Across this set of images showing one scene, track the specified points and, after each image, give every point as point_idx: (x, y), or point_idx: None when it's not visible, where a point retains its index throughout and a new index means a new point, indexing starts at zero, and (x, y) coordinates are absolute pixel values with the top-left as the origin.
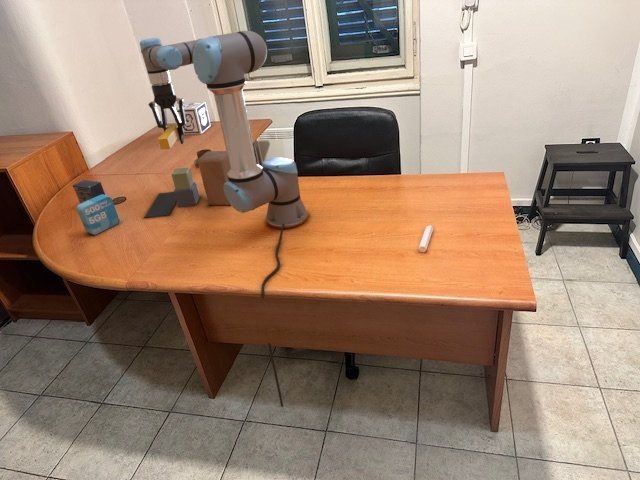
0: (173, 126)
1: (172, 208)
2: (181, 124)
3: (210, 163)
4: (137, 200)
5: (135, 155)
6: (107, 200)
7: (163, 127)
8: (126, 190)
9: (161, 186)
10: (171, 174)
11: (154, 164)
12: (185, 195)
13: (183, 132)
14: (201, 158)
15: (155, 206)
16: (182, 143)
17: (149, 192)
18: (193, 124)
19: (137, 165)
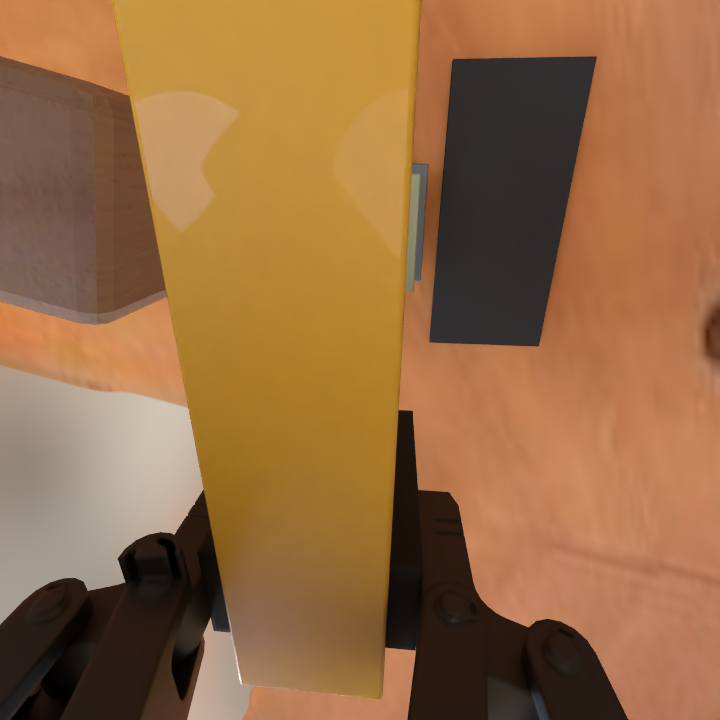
0: (286, 610)
1: (446, 142)
2: (117, 612)
3: None
4: (645, 304)
5: (667, 715)
6: None
7: (472, 613)
8: (703, 429)
9: (535, 424)
10: (419, 174)
11: (584, 626)
12: None
13: (199, 505)
14: (49, 105)
15: (543, 193)
16: None
17: (588, 378)
18: None
19: (656, 639)
